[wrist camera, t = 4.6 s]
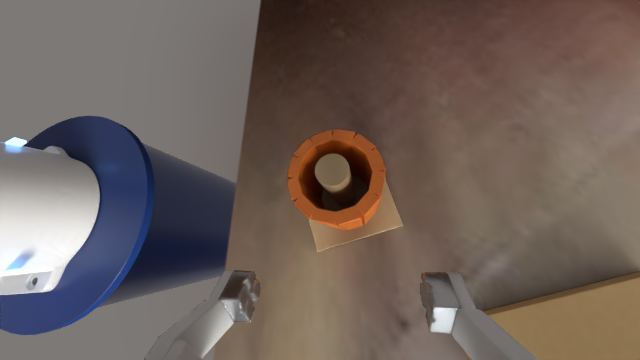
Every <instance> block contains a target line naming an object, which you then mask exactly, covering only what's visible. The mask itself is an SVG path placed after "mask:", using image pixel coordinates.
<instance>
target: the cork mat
mask: <svg viewBox="0 0 640 360" xmlns="http://www.w3.org/2000/svg"><path fill="white" fill-rule="evenodd" d="M483 312H484V313H485V314H486V315H488V316H489V317H490V318H491V319H492V320H493V321H495V322H496V323H497V324H498V325H499V326H500V327H502V328H503V329H504V330H505V331H506V332H507V333H508V334H510V335H511V336H512V337H513V338H514V339H515V340H517V341H518V342H519V343H520V344H521V345H522V346H524V347H525V348H526V349H527V350H528V351H529V352H531V353H532V354H533V355H534V356H535V357H536V358H537V359H539V360H640V272H636V273H632V274H628V275H624V276H620V277H616V278H613V279H609V280H605V281H601V282H597V283H593V284H589V285H585V286H581V287H577V288H573V289H569V290H565V291H561V292H558V293H554V294H550V295H546V296H542V297H538V298H534V299H530V300H526V301H522V302H518V303H514V304H510V305H507V306H503V307H499V308H495V309H491V310H487V311H483ZM465 353H466V352H465ZM466 355H467V358H468V360H472V359H471V358H470V357H469V355H468V354H467V353H466Z"/></svg>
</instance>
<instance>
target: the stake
mask: <svg viewBox="0 0 640 360" xmlns="http://www.w3.org/2000/svg"><path fill="white" fill-rule="evenodd" d="M315 176H316V178H317V180H318V181H319V182H320V184H321V185H322V186H323V187H324V189H323V194H322V202H323V205H324V208H325V210H330V211H334V212H337V211H340V210H343V209H346V208H349V207H352V206H355V205H356V204H357V203H358V202H359V201H360V200H361V198H362V197H363V196H364V195H365V194H366V193H367V192H368V188H367V185H366V183H365V182H364V181H362V180H361V179H360V178H359V177H357V176H356V175H351V172H350V168H349V164H348V162H347V160H346V159H345V158H344V157H343V156H341V155H339V154H327V155H325V156H323V157H322V158H320V159H319V161H318V162H317V164H316V167H315ZM308 220H309V224H310V227H311V231H312V235H313V238H314V242H315V246H316V249H317V252H319V251H322V250H326V249H329V248H332V247H335V246H339V245H342V244H345V243H348V242H352V241H355V240H358V239H362V238H365V237H368V236H371V235H375V234H378V233H381V232H385V231H388V230H391V229H394V228H398V227H401V226H403V223H402V221H401V218H400V216H399V213H398V211H397V208H396V206H395V203H394V201H393V198H392V195H391V193H390V190H389V188H388V185H387V183H386V180H385V181H384V187H383V192H382V196H381V199H380V202H379V205H378V208H377V210H376V212H375V214H374V215H373V216H372V217H371V219H370V220H369V221H368V222H367V223H366V224H364V223H363V222H362V223H363V226H361V227H358V228H354V229H351V230H347V229H346V230H342V229H338V228H334V227H330V226H327V225H324V224H321V223H319V222H316V221H313V220H312V219H309V218H308Z"/></svg>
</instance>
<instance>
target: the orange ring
mask: <svg viewBox="0 0 640 360" xmlns="http://www.w3.org/2000/svg"><path fill="white" fill-rule="evenodd" d="M311 139H312V141H311V140H310V139H307V140H306V141H305V142H304V143H303V144H302V145H301V146H300V147H299V148H298V149H297V150H296V152H295V153H294V155H295V156H296V157H292V158H291V162H290V166H289V169H288V173H287V177H288V178H289V179H288V180H287V184H288V188H289V192H290V196H291V199H292V200H293V201H295V202H294V205H295V206H296V207H298V208H299V209H300V210H301V211H302V212H303V213H304V214H305V215H306V216H307V217H308V218H309V219H312V220H313V221H316V222H319V223H321V224H324V225H327V226H330V227H334V228H338V229H342V230H346V229H347V230H351V229H354V228H358V227H361V226H363V223H364V224H366V223H367V222H368V221H369V220H370V219H371V217H372V216H373V215H374V214H375V212H376V210H377V208H378V205H379V202H380V199H381V196H382V192H383V187H384V181H385V176H386V172H385V166H384V163H383V161H382V158H381V156H380V153H379V151H378V149H375V145H374V144H372V143H371V142H370V141H368V140H367V139H366V138H364V137H363V136H362V135H360V134H357V135H356V136H355V132H354V131H347V130H339V129H334V130H333V134H332V131H331V130H327V131H324V132H322V133H319V134H316V135H313V136H311ZM327 154H339V155H341V156H343V157H344V158H345V159H346V160H347V162H348V164H349V168H350V172H351V175H356V176H357V177H359V178H360V179H361V180H362V181H364V182H365V183H366V185H367V188H368V192H367V193H366V194H365V195H364V196H363V197H362V198H361V200H360V201H359V202H358V203H357V204H356V205H355V206H352V207H349V208H346V209H343V210H340V211H337V212H334V211H330V210H325V208H324V205H323V202H322V194H323V189H324V187H323V186H322V185H321V184H320V182H319V181H318V180H317V178H316V176H315V167H316V164H317V162H318V161H319V159H320V158H322V157H323V156H325V155H327ZM362 222H363V223H362Z"/></svg>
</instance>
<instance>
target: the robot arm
mask: <svg viewBox="0 0 640 360" xmlns="http://www.w3.org/2000/svg"><path fill="white" fill-rule="evenodd" d="M26 143H27V141H25V140H22V139H18V138H15V137H14V138H12V139H11V140H9V141H7V142H0V295H8V294H21V293H34V292H47V291H51V290H53V289H54V288H55V287H56V285H57V284H58V282H59V280H60V278H61V276H62V274H63V272H64V270H65V268H66V266H67V264H68V263H69V261H70V260H71V259H72V258H73V256H74V255H75V254H76V253H77V252H78V251H79V249H80V248H81V247H82V246H83V244H84V243H85V241H86V240H87V238H88V236H89V234H90V232H91V230H92V228H93V226H94V223H95V221H96V217H97V214H98V209H99V203H100V189H99V183H98V180H97V177H96V175H95V173H94V172H93V170H92V169H91V168H90V167H89V166H88V165H87V164H85V163H84V162H81V161H78V160H75V159H73V158H71V157H70V156H69V155H68V153H67V152H66V151H65V150H64V149H63V148H60V147H55V146H49V147H47V148H46V149H44V150H39V149H34V148H29V147H25V146H22V145H23V144H26ZM255 277H256V274H255V272H254V271H237V270H226V271H225V272H224V273H223V274H222V276H221V278H220V279H219V281H218V283H217V285H216V286H215V288H214V290H213V292H212V293H211V295H210V297H209V299H208V300H204V301H203V302H202V303H201V304H199V305H198V306H197V307H195V308H194V309H193V310H192V311H191V312H189V313H188V314H187V315H185V316H184V317H183V318H182V319H181V320H179V321H178V322H177V323H176V324H174V325H173V326H172V327H171V328H169V329H168V330H167V331H166V332H164V333H163V334H162V335H161V336H159V337H158V339H157V340H156V342H155V343H154V345H153V346H152V348H151V349H150V351H149V352H148V354H147V355H146V357H145V359H144V360H202V358H203V357H204V356H205V354H206V353H207V352H208V351H209V350H210V349H211V348H212V347H213V346H214V344H215V343H216V342H217V341H218V340H219V339H220V338H221V337H222V336H223V334H224V333H225V332H226V331H227V330H228V329H229V328H230V327H231V325H232V324H233V323H234V322H250V320H251V317H252V315H253V312H254V309H255V308H254V305H253V304H254V303H255V302H256V301H257V300H258V298H259V295H260V289H261V287H260V283H259V281H258V280H257V279H256V278H255ZM421 279H422V283H421V284H420V294H421V300H422V304H423V306H424V307H425V308H426V320H427V323H428V327H429V331H430V332H437V333H450V334H451V335H452V336H453V337H454V339H455V340H456V341H457V342H458V343H459V345H460V346H461V347H462V348H463V349H464V351H465V352H466V353H467V354H468V355H469V357H470V358H471V359H472V360H539V359H537V358H536V357H535V356H534V355H533V354H532V353H531V352H529V351H528V350H527V349H526V348H525V347H524V346H522V345H521V344H520V343H519V342H518V341H517V340H515V339H514V338H513V337H512V336H511V335H510V334H508V333H507V332H506V331H505V330H504V329H503V328H502V327H500V326H499V325H498V324H497V323H496V322H495V321H493V320H492V319H491V318H490V317H489V316H488V315H486V314H485V313H484V312H483V311H482V310H480V309H476V307H475V304H474V302H473V300H472V298H471V296H470V294H469V291H468V289H467V287H466V285H465V283H464V281H463V278H462V276H461V275H460V273H446V272H422V275H421Z"/></svg>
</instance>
